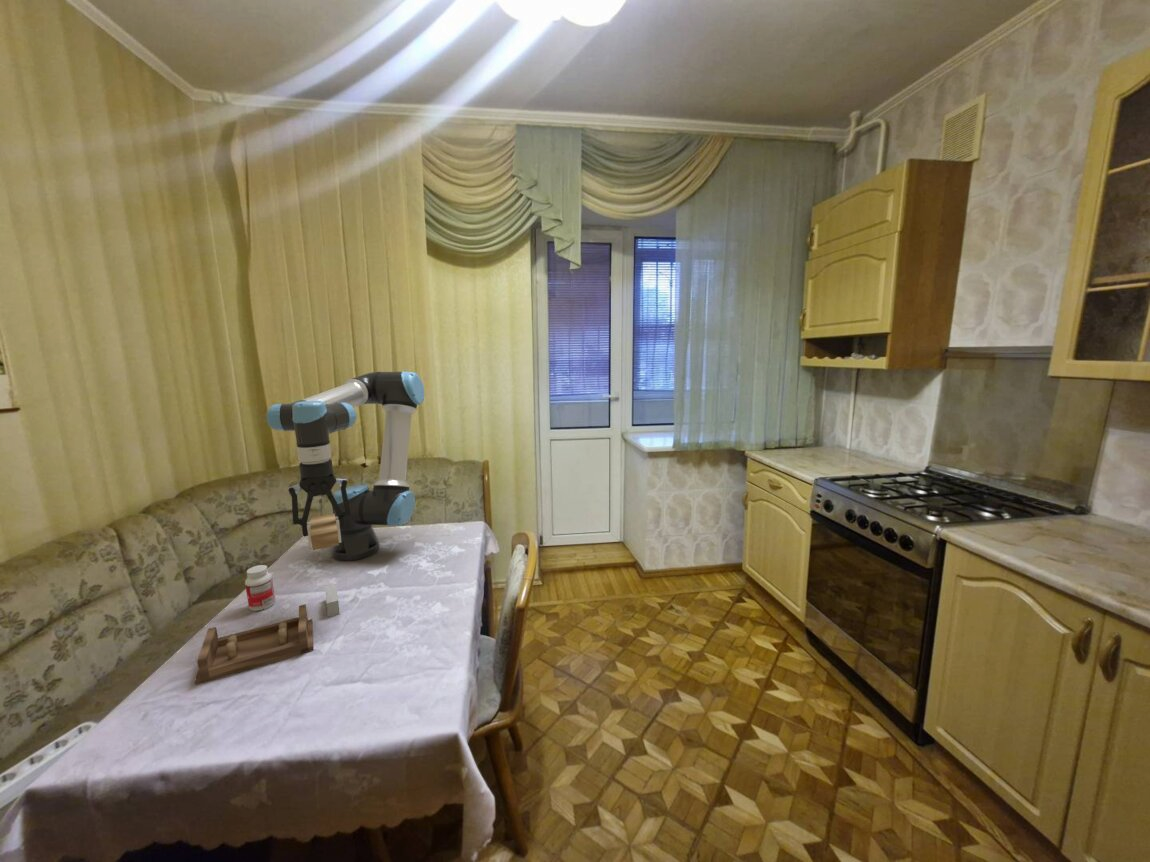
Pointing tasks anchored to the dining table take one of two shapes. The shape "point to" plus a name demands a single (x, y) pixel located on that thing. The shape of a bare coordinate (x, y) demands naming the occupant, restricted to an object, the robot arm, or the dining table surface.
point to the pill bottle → (259, 588)
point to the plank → (324, 532)
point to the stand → (332, 600)
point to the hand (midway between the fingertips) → (325, 543)
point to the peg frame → (253, 647)
